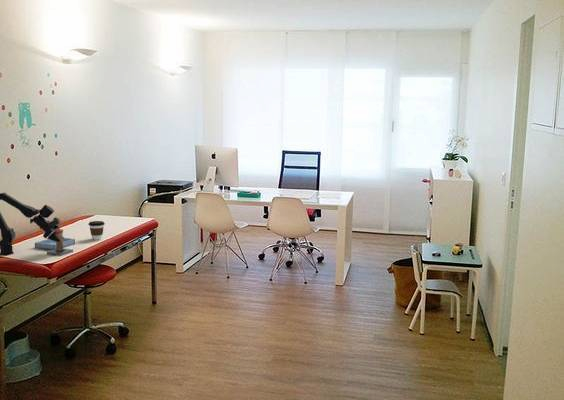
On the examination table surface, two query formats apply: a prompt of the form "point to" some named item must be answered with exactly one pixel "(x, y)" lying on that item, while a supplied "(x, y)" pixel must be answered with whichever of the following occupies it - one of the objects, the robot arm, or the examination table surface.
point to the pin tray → (53, 243)
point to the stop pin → (60, 235)
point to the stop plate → (65, 251)
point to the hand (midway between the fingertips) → (61, 240)
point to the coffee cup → (96, 229)
